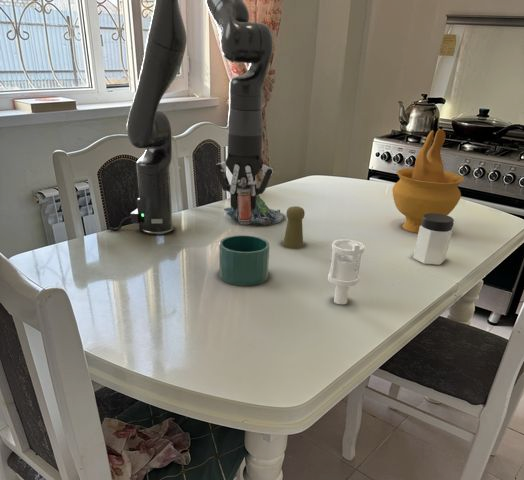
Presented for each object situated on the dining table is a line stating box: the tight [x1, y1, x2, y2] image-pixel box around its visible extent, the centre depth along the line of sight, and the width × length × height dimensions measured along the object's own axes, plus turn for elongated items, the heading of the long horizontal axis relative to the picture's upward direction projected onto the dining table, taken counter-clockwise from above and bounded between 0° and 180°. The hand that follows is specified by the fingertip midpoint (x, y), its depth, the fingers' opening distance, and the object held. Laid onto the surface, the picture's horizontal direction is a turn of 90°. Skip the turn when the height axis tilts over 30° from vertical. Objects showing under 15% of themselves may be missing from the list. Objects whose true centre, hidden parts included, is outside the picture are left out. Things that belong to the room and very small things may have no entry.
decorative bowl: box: [391, 128, 465, 234], centre depth 158 cm, size 21×21×30 cm
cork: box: [282, 205, 306, 249], centre depth 145 cm, size 6×6×11 cm
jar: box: [412, 213, 455, 266], centre depth 139 cm, size 9×8×12 cm
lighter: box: [237, 177, 253, 225], centre depth 117 cm, size 8×3×10 cm, turn 0°
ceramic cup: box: [218, 234, 270, 287], centre depth 125 cm, size 12×12×8 cm
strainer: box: [327, 238, 365, 305], centre depth 113 cm, size 7×7×15 cm
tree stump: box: [223, 181, 284, 226], centre depth 164 cm, size 18×20×18 cm
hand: (243, 209), depth 118 cm, fingers closed on lighter, 3 cm apart
